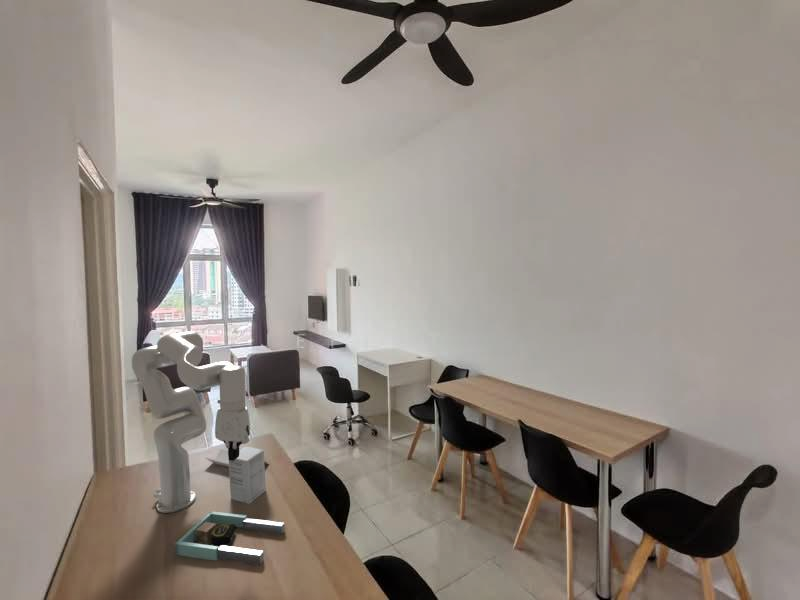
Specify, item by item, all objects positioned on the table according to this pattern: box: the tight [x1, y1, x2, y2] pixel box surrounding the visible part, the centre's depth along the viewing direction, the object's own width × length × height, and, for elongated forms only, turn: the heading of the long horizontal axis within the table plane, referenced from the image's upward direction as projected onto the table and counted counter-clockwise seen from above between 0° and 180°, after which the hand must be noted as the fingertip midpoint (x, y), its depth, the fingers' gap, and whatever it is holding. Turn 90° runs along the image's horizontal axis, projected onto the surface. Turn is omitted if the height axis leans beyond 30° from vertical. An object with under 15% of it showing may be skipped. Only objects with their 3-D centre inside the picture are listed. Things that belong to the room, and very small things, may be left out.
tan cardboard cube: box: [196, 522, 217, 545], centre depth 121 cm, size 4×4×4 cm
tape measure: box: [210, 524, 237, 547], centre depth 119 cm, size 7×7×4 cm
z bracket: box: [204, 449, 270, 468], centre depth 167 cm, size 12×25×6 cm
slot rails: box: [217, 517, 286, 566], centre depth 118 cm, size 14×15×3 cm
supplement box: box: [228, 446, 267, 505], centre depth 144 cm, size 10×9×17 cm
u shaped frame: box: [174, 510, 248, 561], centre depth 120 cm, size 14×16×4 cm
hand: (233, 458), depth 122 cm, fingers closed
